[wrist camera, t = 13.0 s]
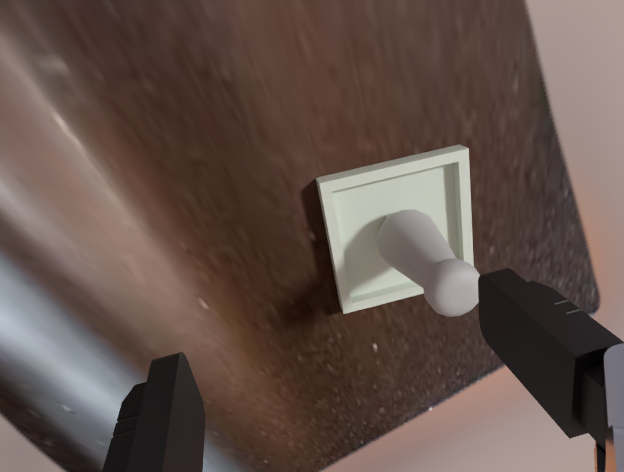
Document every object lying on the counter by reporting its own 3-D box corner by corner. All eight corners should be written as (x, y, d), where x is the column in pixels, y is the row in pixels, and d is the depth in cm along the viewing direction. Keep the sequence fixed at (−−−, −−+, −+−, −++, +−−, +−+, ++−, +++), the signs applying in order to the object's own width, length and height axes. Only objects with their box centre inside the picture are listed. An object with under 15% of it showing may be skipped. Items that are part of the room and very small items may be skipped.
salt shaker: (416, 260, 46) (481, 334, 35) (364, 253, 45) (413, 328, 33) (434, 206, 44) (509, 265, 33) (379, 197, 43) (437, 256, 31)
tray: (315, 178, 42) (319, 183, 40) (459, 144, 43) (468, 148, 41) (339, 304, 48) (343, 314, 46) (465, 272, 49) (474, 280, 47)
